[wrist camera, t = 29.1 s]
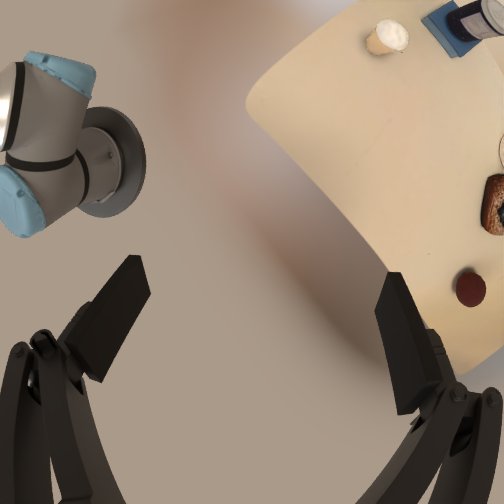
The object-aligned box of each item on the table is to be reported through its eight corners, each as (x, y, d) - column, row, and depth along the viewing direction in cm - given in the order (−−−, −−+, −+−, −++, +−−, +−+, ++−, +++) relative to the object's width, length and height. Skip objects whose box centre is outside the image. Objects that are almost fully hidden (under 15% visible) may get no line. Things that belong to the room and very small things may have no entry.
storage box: (419, 20, 24) (428, 15, 21) (443, 4, 20) (452, -1, 17) (451, 59, 26) (461, 57, 23) (472, 41, 23) (483, 39, 20)
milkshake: (362, 61, 30) (383, 49, 22) (359, 31, 28) (378, 12, 19) (390, 66, 30) (417, 56, 21) (387, 36, 27) (412, 19, 19)
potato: (449, 298, 43) (455, 266, 45) (457, 311, 46) (463, 281, 48) (480, 299, 36) (485, 265, 38) (485, 313, 39) (490, 282, 41)
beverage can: (475, 42, 20) (520, 35, 10) (453, 43, 22) (498, 33, 12) (461, 12, 18) (502, -2, 8) (438, 12, 20) (478, -7, 10)
